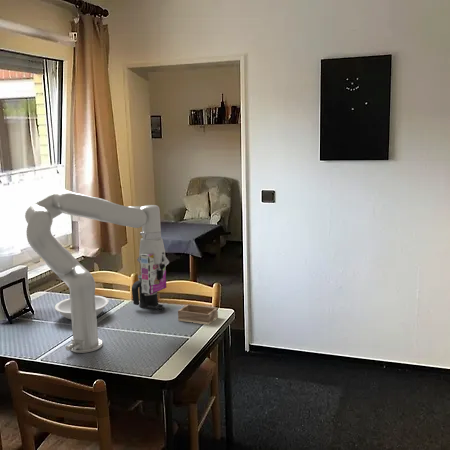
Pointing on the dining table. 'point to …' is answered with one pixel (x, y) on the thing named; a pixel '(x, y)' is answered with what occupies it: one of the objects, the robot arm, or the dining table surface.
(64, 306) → the soup bowl
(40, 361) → the dining table surface
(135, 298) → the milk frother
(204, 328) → the dining table surface
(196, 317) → the open wooden box
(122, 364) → the dining table surface
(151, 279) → the candy bar box
